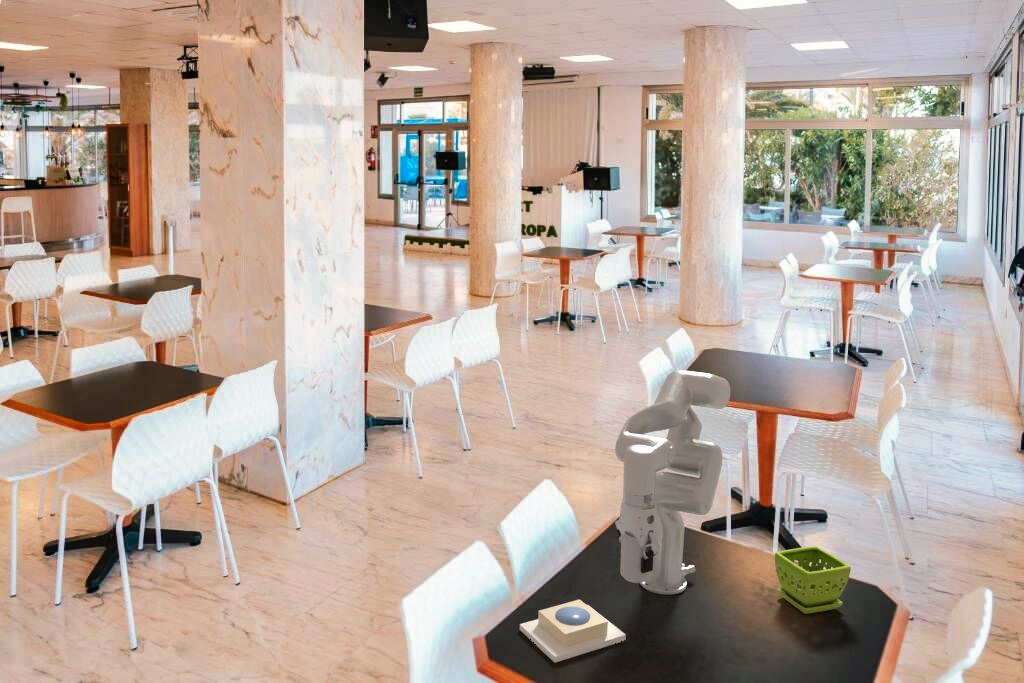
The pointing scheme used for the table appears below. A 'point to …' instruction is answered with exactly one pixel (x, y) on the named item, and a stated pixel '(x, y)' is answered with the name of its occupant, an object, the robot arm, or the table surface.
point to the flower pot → (811, 578)
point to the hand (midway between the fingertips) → (636, 563)
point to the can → (632, 560)
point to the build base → (572, 650)
